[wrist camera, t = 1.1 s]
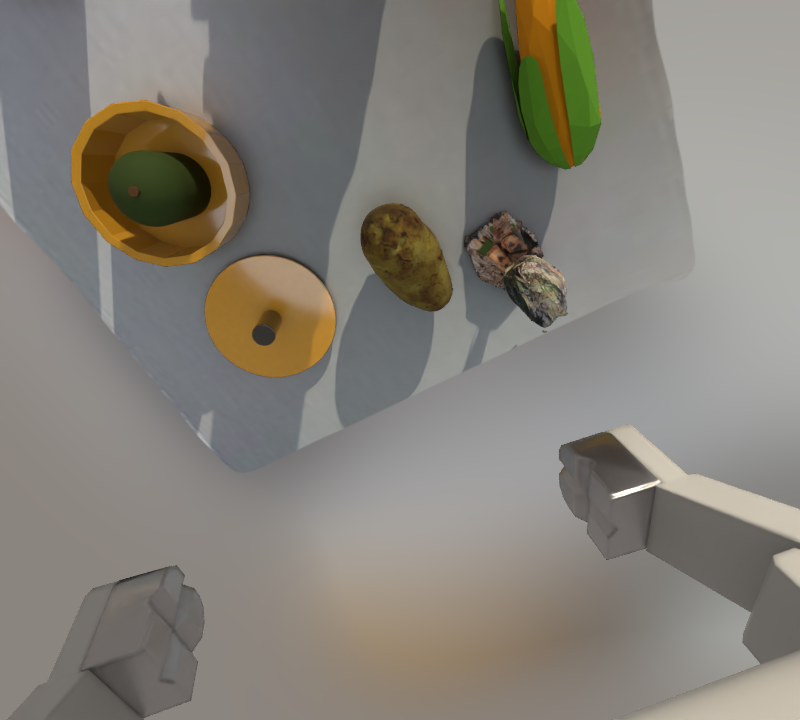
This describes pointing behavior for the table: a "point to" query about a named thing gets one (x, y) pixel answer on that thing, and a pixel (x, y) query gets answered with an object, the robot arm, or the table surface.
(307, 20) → the table surface
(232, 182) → the pot
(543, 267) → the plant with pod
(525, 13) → the corn
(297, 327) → the lid
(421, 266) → the potato
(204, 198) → the avocado
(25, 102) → the table surface
